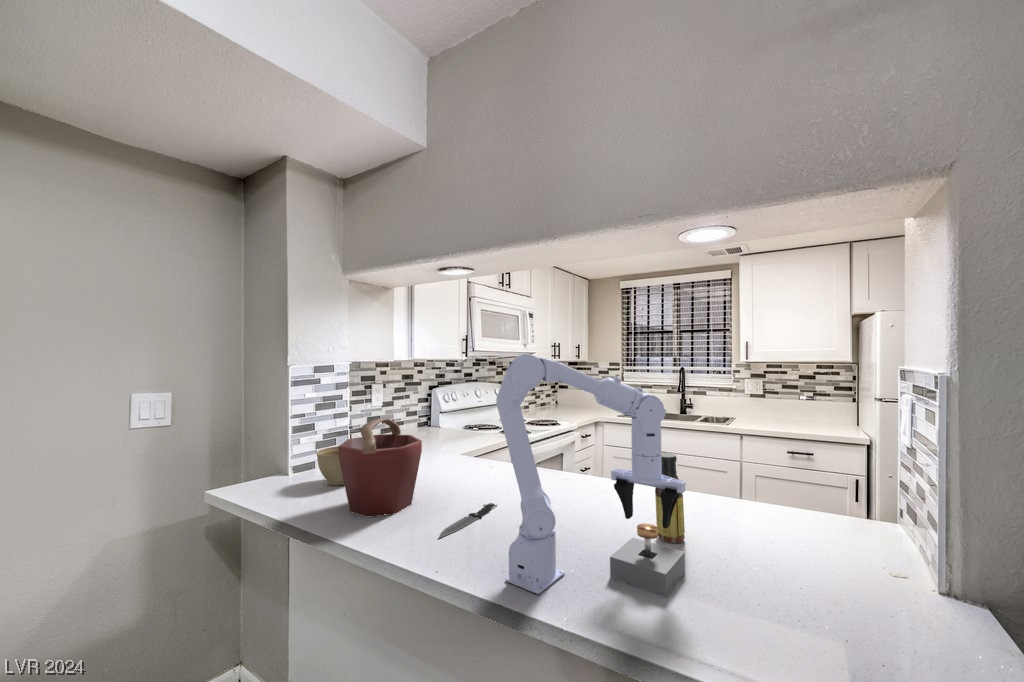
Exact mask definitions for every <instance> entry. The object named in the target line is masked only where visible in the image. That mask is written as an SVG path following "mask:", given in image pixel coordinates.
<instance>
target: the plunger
mask: <svg viewBox="0 0 1024 682" xmlns="http://www.w3.org/2000/svg"><path fill="white" fill-rule="evenodd" d="M636 535H637V536H638V537H640V538H642V539H643V541H644V545H645V556H647V557H650V556H651V543H652V541H651V540H654V539H657V538H659V536H658V528H657V525H655V524H650V523H639V524H637V526H636Z"/></svg>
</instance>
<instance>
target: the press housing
mask: <svg viewBox="0 0 1024 682" xmlns="http://www.w3.org/2000/svg"><path fill="white" fill-rule="evenodd" d="M685 559H686V552H685V551H682V550H680V549H675V548H671V547H668V546H666V545H661V544H657V543H654V542H651V556H650V557H647V556H645V545H644V539H643V540H642V539H639V538H635V537H631V538H630V539H629V540H628V541H627V542H626V543H625V544H623V545H622V546H621V547H619V549H617V550H616V551H614V553H613V554H612V555H610V556H609V578H612V579H614V580H617V581H621V582H623V583H625V584H629V585H632V586H635V587H637V586H638V587H637V588H641V589H644V590H646V591H648V592H649V591H650V592H652V593H655V594H657V595H661V596H664V597H667V596H668V595H669V594H670V592H671V591H672V590H673V588H674V587H675V586H676V585H677V583H678V582H679V580H681V578H682V577H683V576H684V574H685V573H686V560H685Z"/></svg>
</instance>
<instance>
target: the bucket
mask: <svg viewBox="0 0 1024 682" xmlns="http://www.w3.org/2000/svg"><path fill="white" fill-rule="evenodd" d="M381 423H384V424H385V425H386V426H388V427H389V429H390V430H391V434H384V433H383V434H382V433H381V434H380V433H379V434H374V433H373V430H374V428H375V427H377V425H379V424H381ZM359 431H360V435H361V437H353V438H348V439H347V440H345V441H344V442H342V444H340V445H338V446H339V461H340V466H341V471H342V476H343V480H344V485H343V486H344V489H345V490H344V491H345V494H346V498H347V499H346V500H347V502H348V503H347V504H348V509H349V512H350V511H351V512H350V513H352V512H354V513H353V514H356V513H358V514H357V515H359V514H361V515H360V516H362V515H364V516H363V517H365V516H373V517H378V516H377V515H382V516H385V515H384V514H390V515H394V514H393V513H397V512H398V513H400V512H402V511H403V510H405V509H406V507H407V506H408V507H410V506H412V505H413V504H412V503H413V498H414V492H415V489H416V488H415V487H416V483H417V478H418V477H417V476H418V471H419V468H420V467H419V466H420V461H421V455H422V449H423V448H422V447H423V444H422V442H423V441H422V440H421V439H420V438H417V437H415V436H414V435H411V434H401V428H400V426H399V424H398V423H397V422H395V420H392V419H391V418H385V417H384V418H381V417H380V418H379V417H378V418H375V419H372V420H369V421H368V422H366V423H365V424H363V425H362V426H361V427H360V428H359ZM409 505H410V506H409ZM408 507H407V508H408ZM404 508H405V509H404ZM402 509H403V510H402ZM401 510H402V511H401ZM399 511H400V512H399ZM398 513H397V514H398Z"/></svg>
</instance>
